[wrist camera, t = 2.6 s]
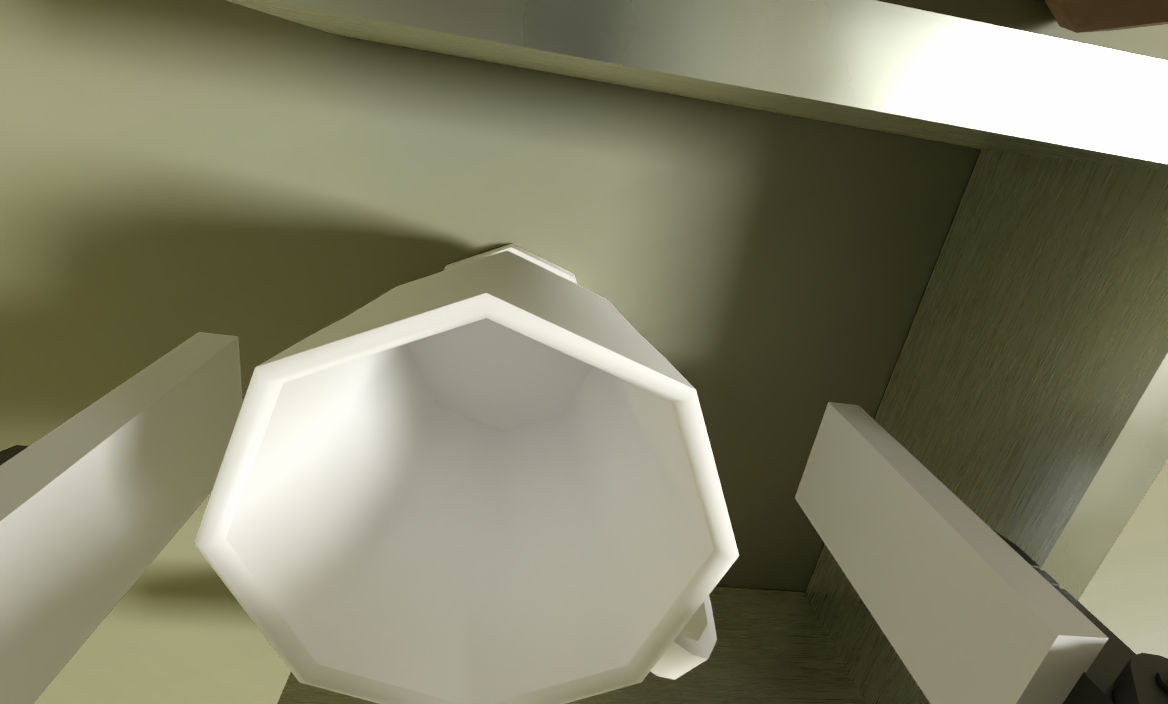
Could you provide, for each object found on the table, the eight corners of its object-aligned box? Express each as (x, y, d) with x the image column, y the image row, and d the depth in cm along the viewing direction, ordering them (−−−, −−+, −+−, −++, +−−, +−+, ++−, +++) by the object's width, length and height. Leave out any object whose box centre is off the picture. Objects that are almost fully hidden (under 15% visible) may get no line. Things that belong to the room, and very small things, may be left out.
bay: (335, -33, 12) (155, -149, 6) (1048, 103, 14) (1391, 106, 8) (338, 591, 18) (250, 809, 12) (828, 621, 20) (938, 820, 14)
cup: (517, 120, 13) (489, 151, 6) (758, 413, 17) (935, 669, 9) (305, 316, 14) (62, 544, 7) (567, 548, 18) (587, 863, 11)
